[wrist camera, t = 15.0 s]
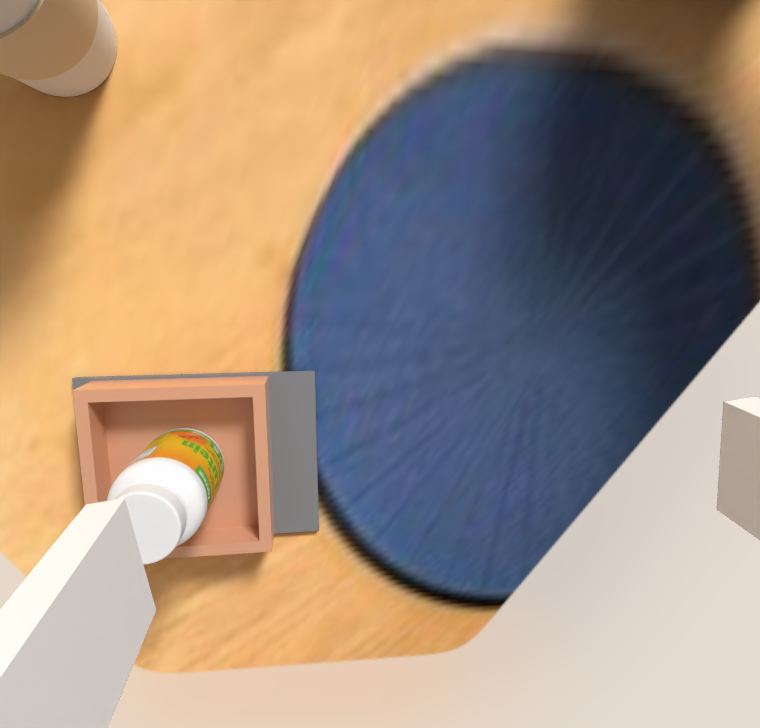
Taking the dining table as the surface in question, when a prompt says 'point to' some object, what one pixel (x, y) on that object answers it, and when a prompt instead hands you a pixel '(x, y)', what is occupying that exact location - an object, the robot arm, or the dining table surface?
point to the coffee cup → (57, 44)
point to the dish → (196, 411)
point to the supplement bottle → (170, 489)
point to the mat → (280, 443)
